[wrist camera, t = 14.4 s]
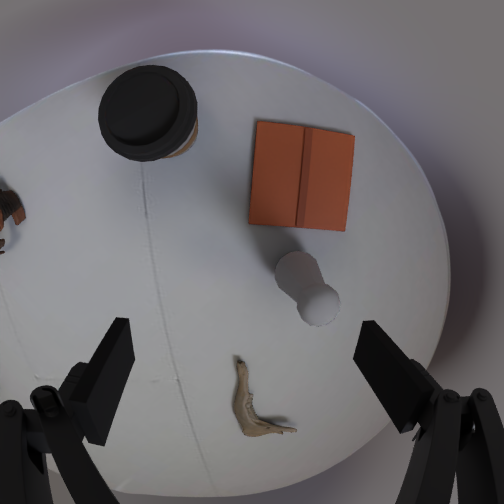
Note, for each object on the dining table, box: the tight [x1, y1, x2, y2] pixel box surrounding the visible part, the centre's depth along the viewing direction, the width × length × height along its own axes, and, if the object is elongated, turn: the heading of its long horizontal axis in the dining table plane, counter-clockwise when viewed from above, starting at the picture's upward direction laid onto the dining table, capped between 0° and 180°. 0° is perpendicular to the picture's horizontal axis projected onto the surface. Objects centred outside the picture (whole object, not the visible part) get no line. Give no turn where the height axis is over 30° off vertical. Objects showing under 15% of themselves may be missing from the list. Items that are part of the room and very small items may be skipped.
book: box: [248, 121, 355, 231], centre depth 36 cm, size 13×13×1 cm
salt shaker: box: [275, 251, 341, 327], centre depth 33 cm, size 6×6×13 cm
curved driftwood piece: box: [234, 361, 297, 437], centre depth 45 cm, size 9×20×2 cm, turn 29°
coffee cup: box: [98, 65, 198, 162], centre depth 26 cm, size 8×8×15 cm
